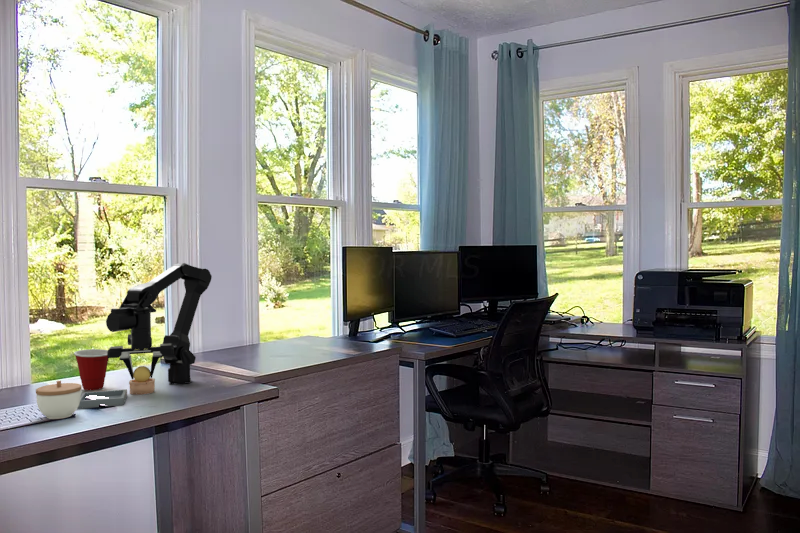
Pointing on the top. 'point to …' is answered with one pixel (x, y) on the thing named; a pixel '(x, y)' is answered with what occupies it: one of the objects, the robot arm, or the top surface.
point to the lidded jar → (58, 399)
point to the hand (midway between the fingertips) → (142, 378)
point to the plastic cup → (92, 367)
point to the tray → (114, 399)
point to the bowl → (142, 387)
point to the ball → (141, 374)
